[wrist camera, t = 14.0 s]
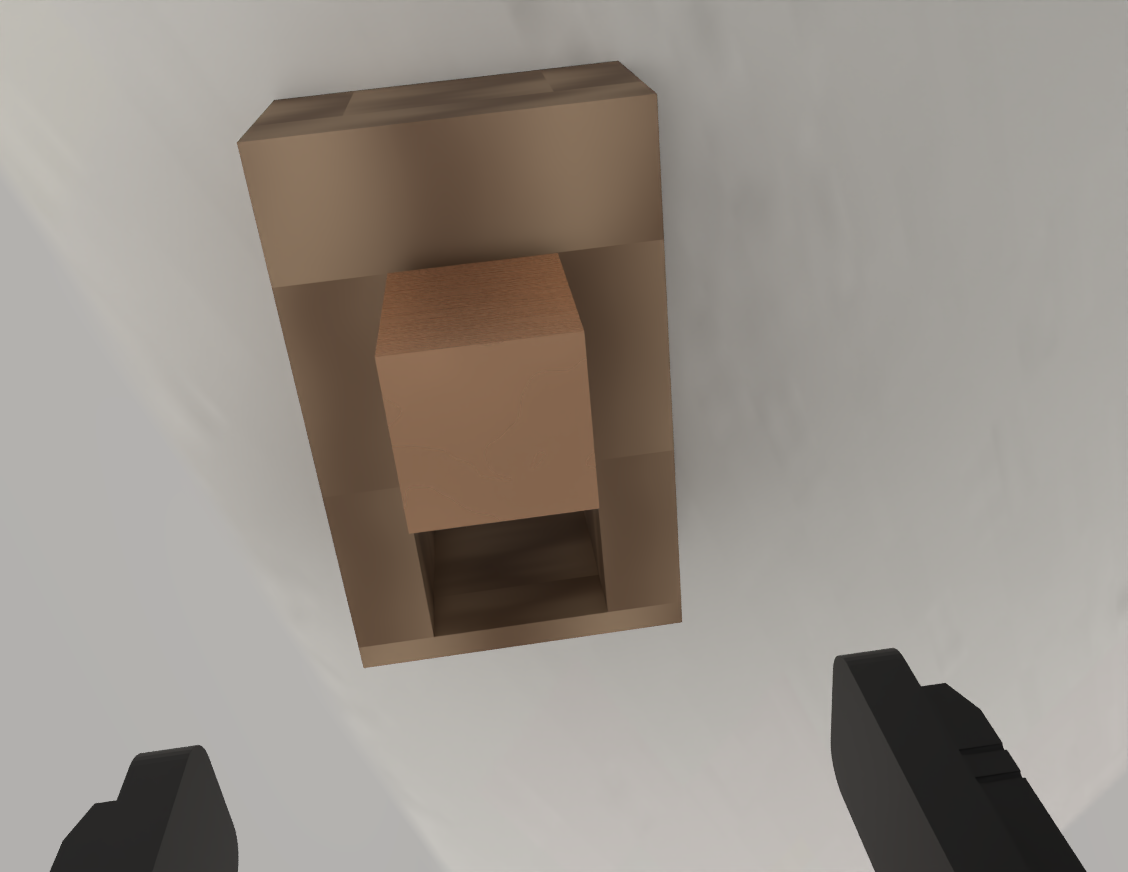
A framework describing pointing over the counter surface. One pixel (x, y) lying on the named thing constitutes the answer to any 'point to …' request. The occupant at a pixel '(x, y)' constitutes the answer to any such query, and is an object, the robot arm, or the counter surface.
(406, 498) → the brown square-topped part
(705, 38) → the counter surface
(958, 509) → the counter surface
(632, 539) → the keyhole block
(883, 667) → the robot arm
